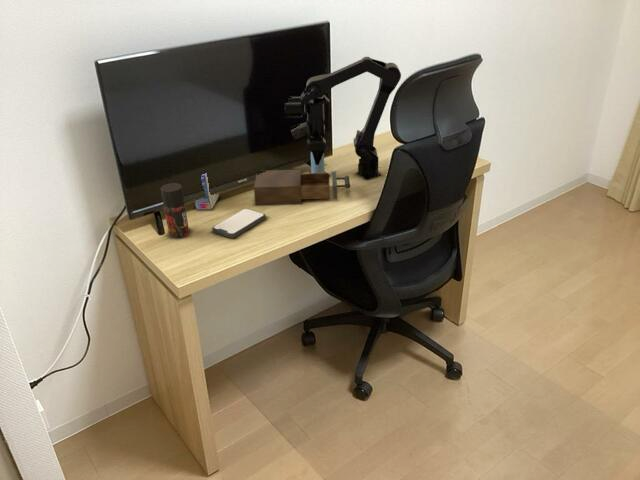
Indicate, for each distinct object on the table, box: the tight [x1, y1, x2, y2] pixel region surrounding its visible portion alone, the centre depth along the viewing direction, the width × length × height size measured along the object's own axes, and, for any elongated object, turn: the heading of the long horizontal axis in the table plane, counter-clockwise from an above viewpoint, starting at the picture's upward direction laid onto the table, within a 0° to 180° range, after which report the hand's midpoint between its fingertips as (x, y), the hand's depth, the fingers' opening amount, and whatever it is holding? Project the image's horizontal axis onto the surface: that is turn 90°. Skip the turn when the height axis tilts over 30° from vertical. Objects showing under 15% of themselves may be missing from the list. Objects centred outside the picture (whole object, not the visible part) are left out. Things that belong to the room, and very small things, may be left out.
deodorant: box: [160, 182, 190, 239], centre depth 168 cm, size 6×6×15 cm
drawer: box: [301, 170, 351, 200], centre depth 191 cm, size 18×12×5 cm
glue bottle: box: [310, 151, 325, 173], centre depth 202 cm, size 5×5×12 cm
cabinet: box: [253, 169, 302, 206], centre depth 191 cm, size 15×13×6 cm
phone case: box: [211, 208, 266, 239], centre depth 175 cm, size 9×2×16 cm
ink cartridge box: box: [194, 173, 220, 211], centre depth 185 cm, size 10×6×14 cm, turn 174°
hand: (317, 159), depth 202 cm, fingers open, 9 cm apart
